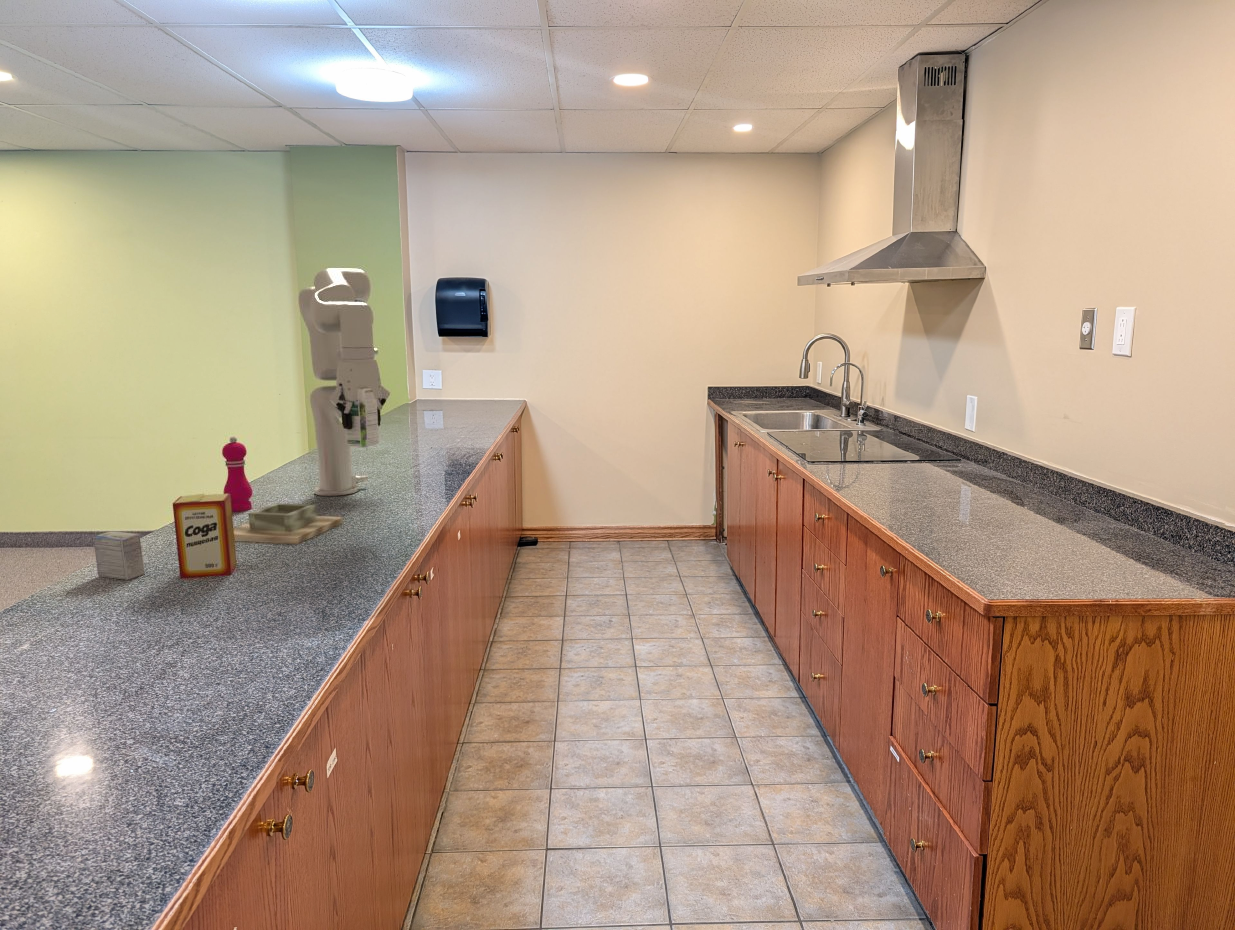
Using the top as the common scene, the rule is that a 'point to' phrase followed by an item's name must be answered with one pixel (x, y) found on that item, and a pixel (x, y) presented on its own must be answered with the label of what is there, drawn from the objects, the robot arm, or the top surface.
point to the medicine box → (118, 555)
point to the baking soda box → (204, 535)
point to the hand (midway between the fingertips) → (361, 426)
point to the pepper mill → (237, 476)
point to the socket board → (285, 524)
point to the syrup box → (363, 420)
